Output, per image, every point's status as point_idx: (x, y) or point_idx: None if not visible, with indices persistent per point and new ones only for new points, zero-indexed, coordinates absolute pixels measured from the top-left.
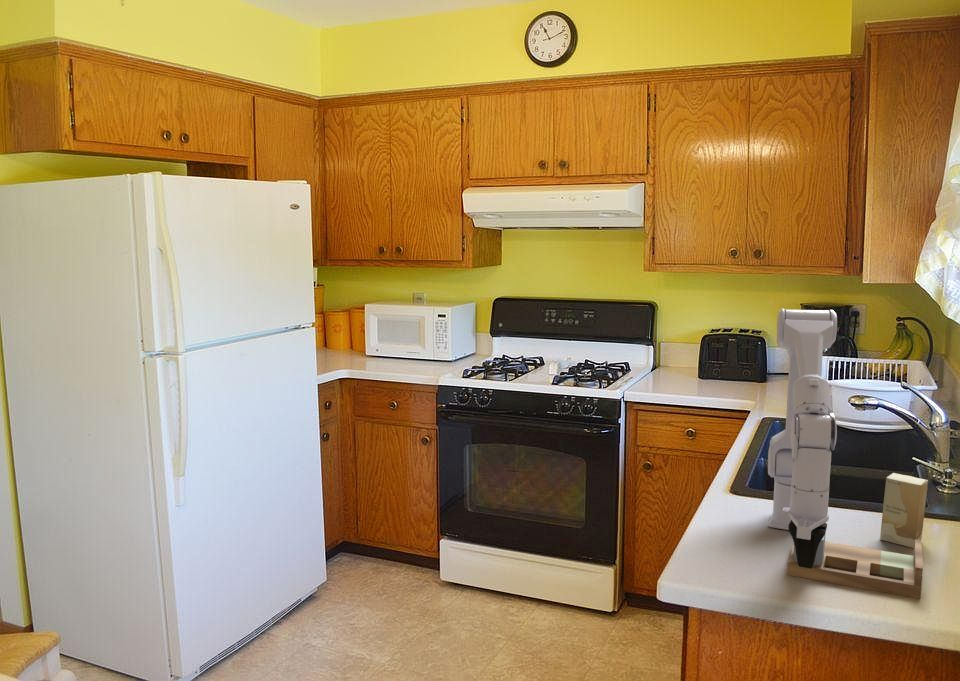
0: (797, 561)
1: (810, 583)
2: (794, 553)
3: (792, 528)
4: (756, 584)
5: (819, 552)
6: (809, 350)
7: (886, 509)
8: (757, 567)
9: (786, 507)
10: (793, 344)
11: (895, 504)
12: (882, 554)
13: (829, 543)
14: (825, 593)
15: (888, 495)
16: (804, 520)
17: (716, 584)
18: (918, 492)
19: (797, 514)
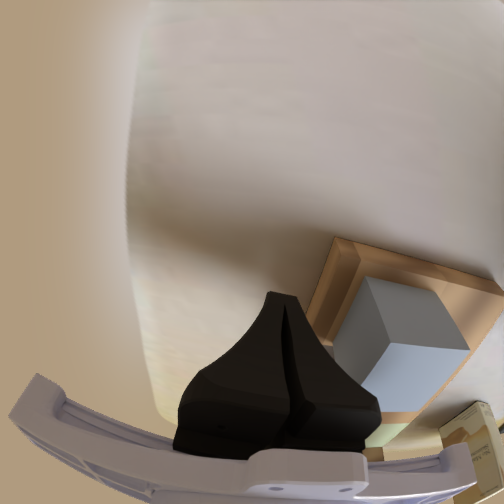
0: (268, 297)
1: (283, 290)
2: (370, 294)
3: (181, 403)
4: (232, 129)
5: (341, 367)
6: None
7: (486, 446)
8: (381, 150)
9: (359, 490)
10: None
11: (478, 463)
12: (393, 425)
13: (462, 361)
14: (226, 313)
15: (491, 467)
16: (142, 480)
17: (196, 10)
18: (455, 501)
19: (163, 499)
